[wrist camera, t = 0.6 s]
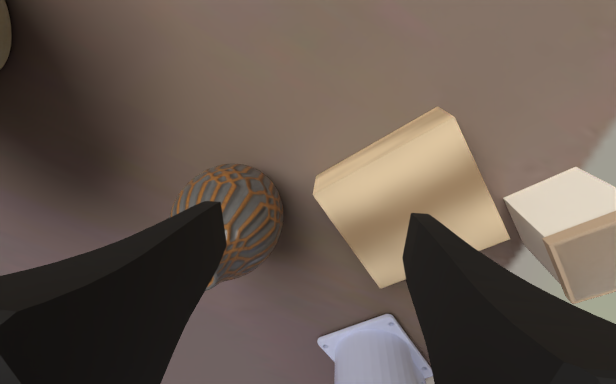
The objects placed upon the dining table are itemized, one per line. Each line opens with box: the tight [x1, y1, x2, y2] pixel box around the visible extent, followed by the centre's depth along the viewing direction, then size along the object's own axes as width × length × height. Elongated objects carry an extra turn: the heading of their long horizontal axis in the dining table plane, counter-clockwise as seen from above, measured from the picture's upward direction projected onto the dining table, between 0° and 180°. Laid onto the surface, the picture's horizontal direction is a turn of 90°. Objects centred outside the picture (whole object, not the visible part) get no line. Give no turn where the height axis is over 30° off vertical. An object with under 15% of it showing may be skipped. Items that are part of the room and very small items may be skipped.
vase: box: [169, 164, 283, 291], centre depth 18 cm, size 7×7×9 cm
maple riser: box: [313, 107, 510, 289], centre depth 19 cm, size 9×9×3 cm
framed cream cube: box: [503, 167, 616, 304], centre depth 18 cm, size 5×5×6 cm
